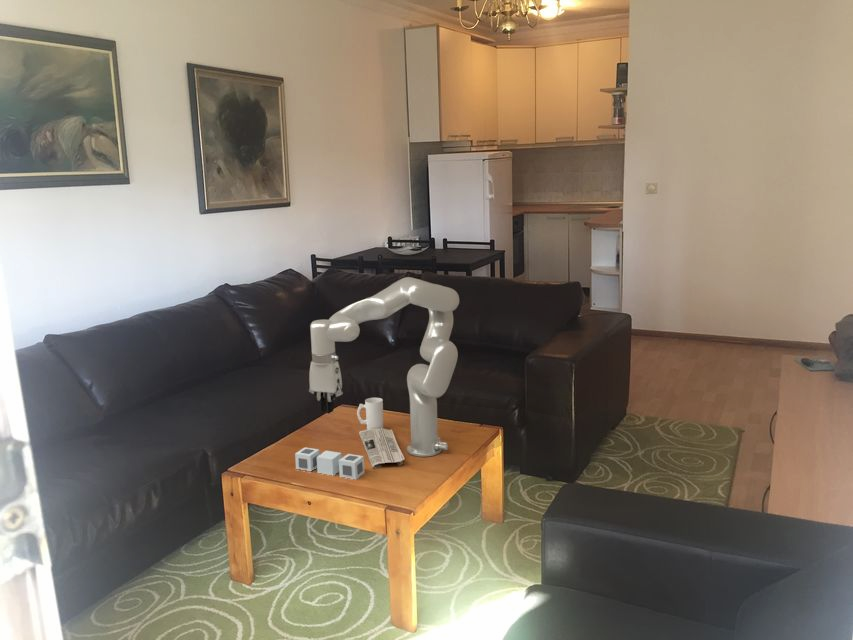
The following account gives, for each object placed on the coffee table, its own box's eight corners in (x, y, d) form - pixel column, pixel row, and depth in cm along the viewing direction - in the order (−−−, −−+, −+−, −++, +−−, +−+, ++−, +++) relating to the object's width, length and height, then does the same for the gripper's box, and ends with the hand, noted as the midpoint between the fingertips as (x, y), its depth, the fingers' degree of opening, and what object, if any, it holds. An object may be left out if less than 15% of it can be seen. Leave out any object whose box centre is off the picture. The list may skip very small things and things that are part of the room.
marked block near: (364, 473, 245) (364, 455, 244) (355, 480, 240) (355, 462, 238) (348, 470, 248) (347, 453, 246) (339, 477, 242) (338, 460, 241)
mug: (383, 426, 289) (381, 397, 287) (384, 432, 282) (383, 402, 280) (357, 428, 288) (356, 398, 285) (358, 434, 281) (357, 404, 279)
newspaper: (359, 435, 281) (358, 427, 280) (391, 432, 283) (391, 424, 283) (373, 472, 247) (373, 462, 246) (409, 468, 250) (409, 458, 249)
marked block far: (321, 466, 252) (320, 449, 251) (311, 473, 246) (310, 455, 245) (305, 463, 254) (304, 446, 253) (295, 470, 249) (294, 453, 247)
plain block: (342, 469, 249) (341, 452, 247) (333, 476, 243) (332, 459, 242) (326, 467, 251) (325, 450, 250) (317, 473, 246) (316, 456, 244)
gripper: (350, 357, 239) (353, 410, 243) (309, 353, 245) (312, 405, 249) (339, 362, 232) (341, 418, 236) (296, 358, 239) (300, 412, 243)
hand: (326, 411), depth 243 cm, fingers closed
